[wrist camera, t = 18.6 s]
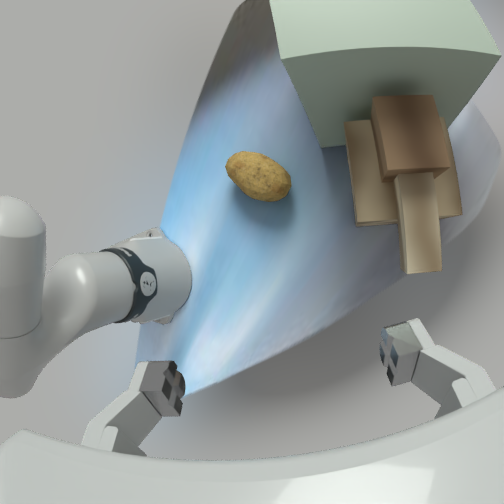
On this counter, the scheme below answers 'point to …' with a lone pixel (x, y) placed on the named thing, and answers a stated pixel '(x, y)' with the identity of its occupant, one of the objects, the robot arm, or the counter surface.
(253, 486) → the robot arm
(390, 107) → the walnut handle block
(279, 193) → the potato
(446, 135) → the low oak block
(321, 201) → the counter surface
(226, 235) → the counter surface
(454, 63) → the large sage green box
